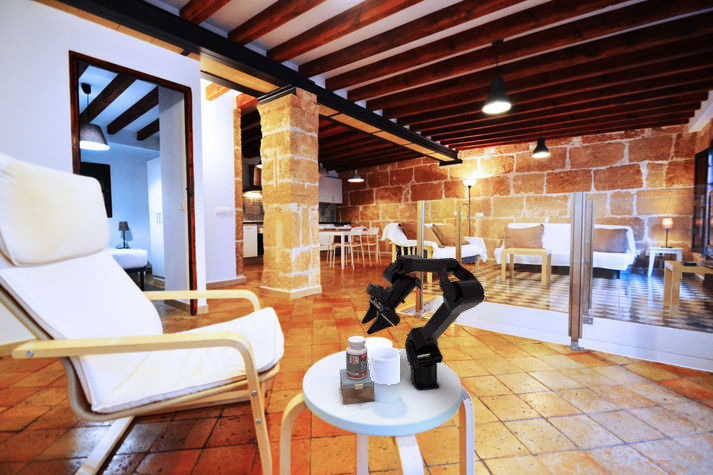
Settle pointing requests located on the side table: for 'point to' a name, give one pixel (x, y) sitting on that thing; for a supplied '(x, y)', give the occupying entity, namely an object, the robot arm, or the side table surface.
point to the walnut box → (357, 394)
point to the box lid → (355, 383)
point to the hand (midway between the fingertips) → (364, 328)
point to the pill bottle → (356, 358)
